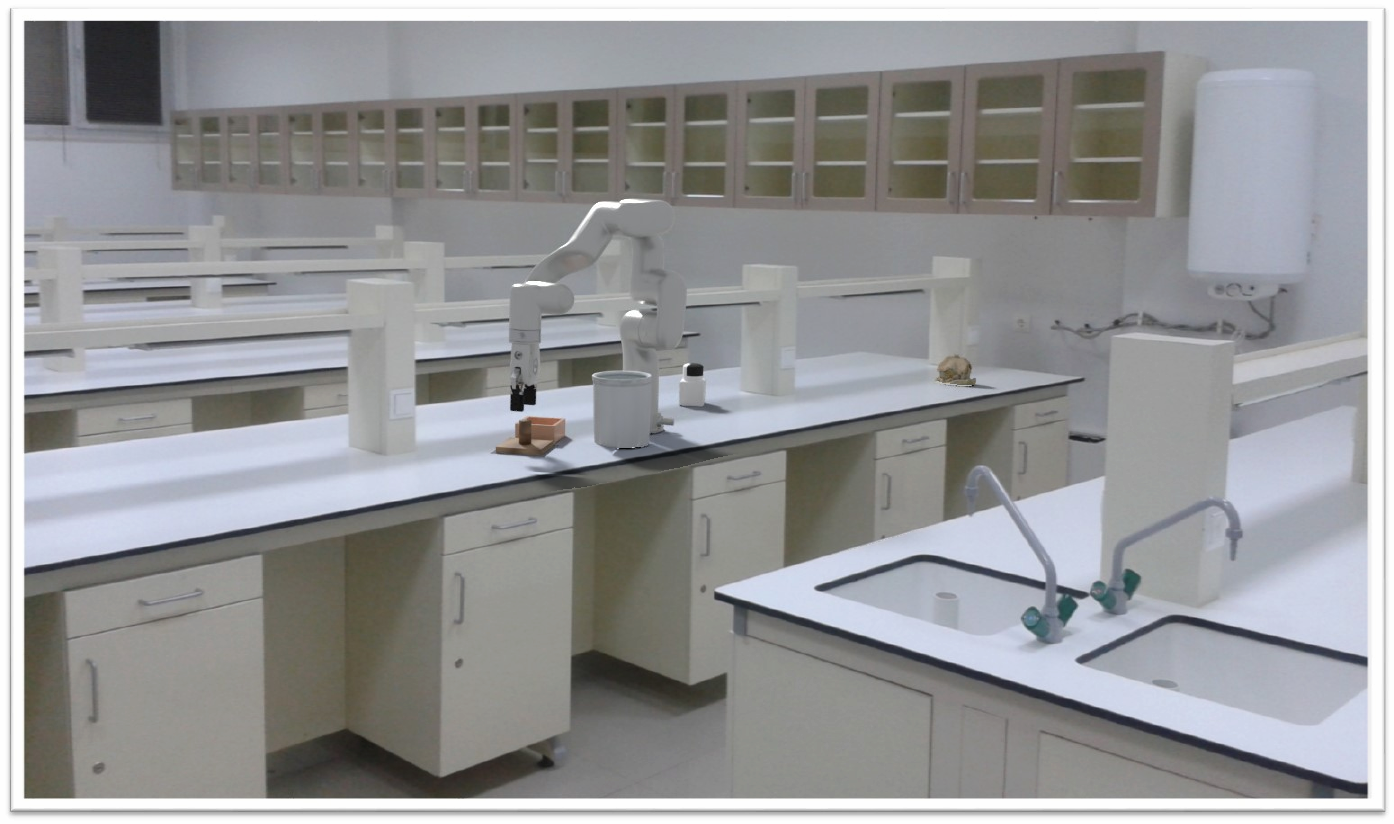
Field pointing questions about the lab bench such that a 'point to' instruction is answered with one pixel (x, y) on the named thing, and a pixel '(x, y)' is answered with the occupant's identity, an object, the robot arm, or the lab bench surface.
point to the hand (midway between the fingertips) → (523, 407)
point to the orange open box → (545, 428)
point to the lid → (524, 442)
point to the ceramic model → (955, 371)
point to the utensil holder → (621, 408)
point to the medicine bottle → (692, 386)
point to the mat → (529, 455)
